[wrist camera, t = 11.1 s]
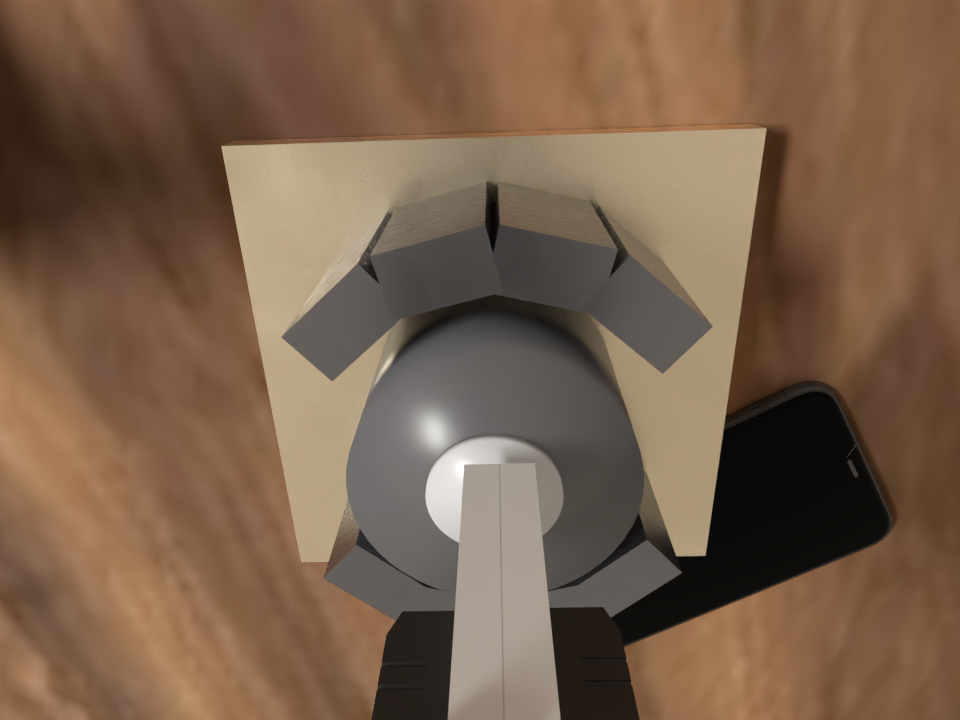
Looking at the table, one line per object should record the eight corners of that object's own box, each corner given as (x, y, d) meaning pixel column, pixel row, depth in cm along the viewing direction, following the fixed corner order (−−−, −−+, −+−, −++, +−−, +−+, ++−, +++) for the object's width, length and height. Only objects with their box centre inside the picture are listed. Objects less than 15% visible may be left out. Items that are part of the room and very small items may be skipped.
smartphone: (529, 671, 28) (892, 521, 24) (530, 689, 27) (905, 538, 23) (429, 552, 25) (818, 363, 22) (427, 568, 25) (830, 375, 21)
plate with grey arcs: (234, 140, 18) (140, 179, 14) (752, 123, 18) (851, 157, 13) (308, 542, 25) (261, 671, 20) (697, 536, 24) (750, 666, 19)
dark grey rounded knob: (359, 286, 19) (314, 377, 14) (610, 265, 19) (649, 352, 14) (397, 485, 22) (371, 614, 18) (612, 471, 22) (644, 599, 17)
